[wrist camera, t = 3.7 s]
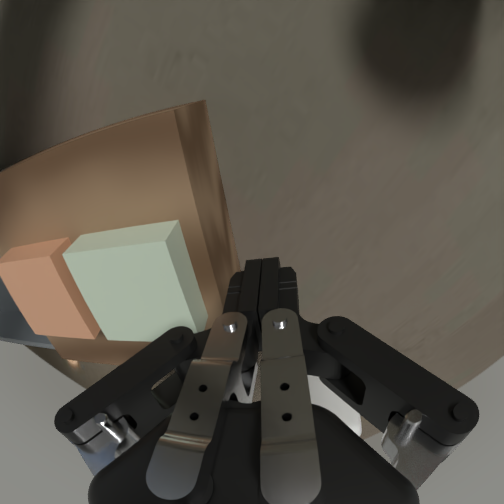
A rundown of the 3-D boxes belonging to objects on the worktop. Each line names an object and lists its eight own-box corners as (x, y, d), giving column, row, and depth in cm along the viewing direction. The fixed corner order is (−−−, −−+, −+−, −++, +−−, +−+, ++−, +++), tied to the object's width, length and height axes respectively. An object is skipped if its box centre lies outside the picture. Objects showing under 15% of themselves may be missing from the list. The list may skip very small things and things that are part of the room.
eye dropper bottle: (342, 385, 30) (352, 489, 19) (291, 380, 30) (289, 490, 19) (358, 360, 27) (376, 474, 17) (303, 354, 27) (306, 476, 17)
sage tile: (80, 234, 15) (62, 254, 13) (178, 219, 14) (165, 241, 13) (119, 317, 18) (107, 340, 16) (208, 315, 17) (201, 341, 16)
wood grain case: (22, 159, 19) (-28, 188, 14) (205, 99, 17) (173, 109, 12) (89, 314, 27) (62, 358, 22) (249, 309, 25) (241, 369, 20)
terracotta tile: (11, 247, 16) (-6, 264, 14) (68, 237, 15) (49, 256, 14) (48, 316, 19) (35, 334, 17) (107, 317, 18) (95, 339, 17)
